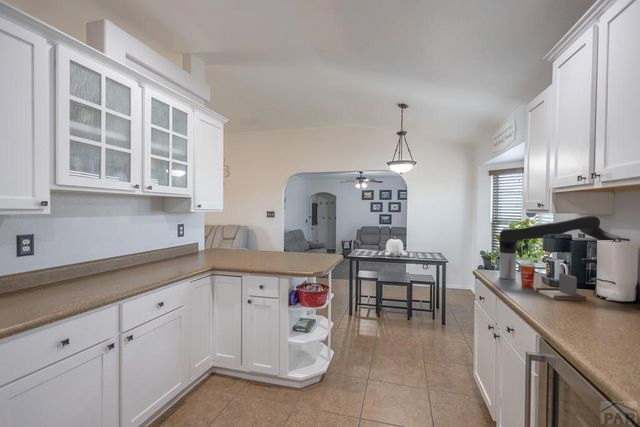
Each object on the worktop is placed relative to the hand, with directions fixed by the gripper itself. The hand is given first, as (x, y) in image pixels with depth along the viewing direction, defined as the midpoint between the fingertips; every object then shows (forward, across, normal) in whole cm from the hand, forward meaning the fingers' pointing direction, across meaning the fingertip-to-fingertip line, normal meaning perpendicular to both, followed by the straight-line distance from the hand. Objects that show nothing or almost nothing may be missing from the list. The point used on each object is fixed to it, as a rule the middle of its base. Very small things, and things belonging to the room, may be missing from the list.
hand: (582, 261), depth 163 cm
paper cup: (+18, -18, +19) cm, 31 cm away
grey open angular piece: (+12, 0, +19) cm, 22 cm away
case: (+12, 0, +19) cm, 22 cm away
